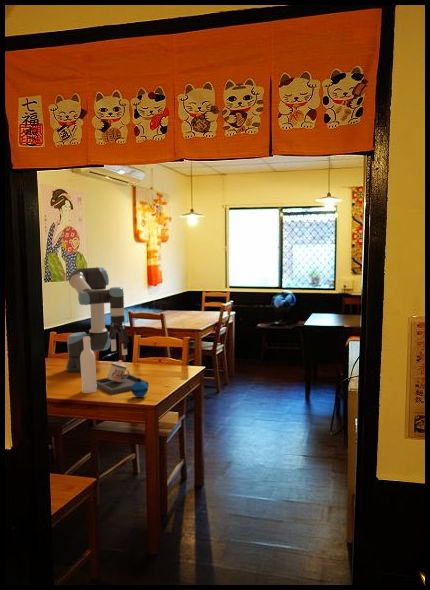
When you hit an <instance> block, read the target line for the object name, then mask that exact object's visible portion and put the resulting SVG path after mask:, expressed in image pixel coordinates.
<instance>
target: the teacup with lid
mask: <svg viewBox="0 0 430 590" xmlns="http://www.w3.org/2000/svg"><path fill="white" fill-rule="evenodd" d="M110 364H111V365H110V368H109V371H108V374H107V377H106V378H108V379H110V380H112V381H116V382H122V380H123V378H127V377H128V376H129V374H130V371H129V370H128V369H127V367H128V366H126V365H125V363H123V360H120V359H119V360H118V361H115V362H111V363H110ZM126 372H127V373H126ZM124 374H127V376H125V377H124Z"/></svg>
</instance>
